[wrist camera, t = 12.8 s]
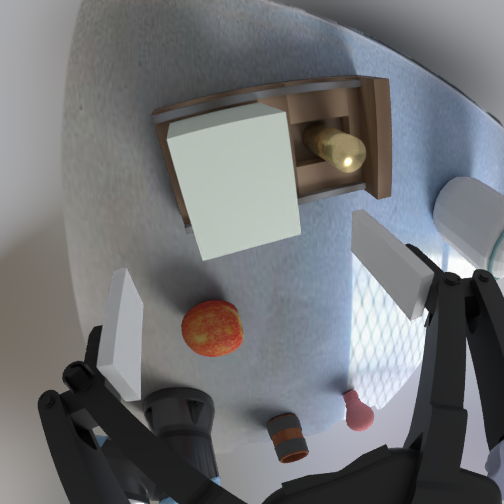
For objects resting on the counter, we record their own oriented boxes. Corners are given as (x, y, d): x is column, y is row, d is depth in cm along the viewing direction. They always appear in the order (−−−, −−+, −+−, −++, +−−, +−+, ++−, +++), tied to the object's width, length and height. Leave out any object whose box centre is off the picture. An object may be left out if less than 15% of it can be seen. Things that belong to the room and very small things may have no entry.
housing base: (186, 221, 37) (188, 249, 32) (154, 110, 29) (148, 117, 24) (363, 177, 39) (391, 196, 34) (357, 75, 31) (388, 78, 26)
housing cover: (196, 219, 34) (203, 260, 27) (169, 123, 27) (166, 139, 21) (274, 198, 34) (301, 234, 28) (258, 102, 28) (285, 111, 21)
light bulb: (330, 397, 71) (347, 435, 61) (352, 382, 69) (372, 420, 59) (342, 401, 75) (359, 437, 65) (363, 387, 73) (382, 422, 63)
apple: (239, 321, 48) (251, 360, 42) (188, 332, 47) (193, 373, 41) (232, 283, 44) (244, 323, 37) (175, 296, 43) (177, 337, 36)
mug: (260, 434, 75) (270, 470, 65) (269, 415, 69) (282, 455, 59) (289, 430, 77) (300, 464, 68) (301, 410, 71) (315, 448, 62)
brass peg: (303, 153, 34) (334, 175, 28) (300, 124, 32) (332, 139, 26) (331, 148, 35) (366, 169, 28) (328, 120, 33) (365, 134, 26)
